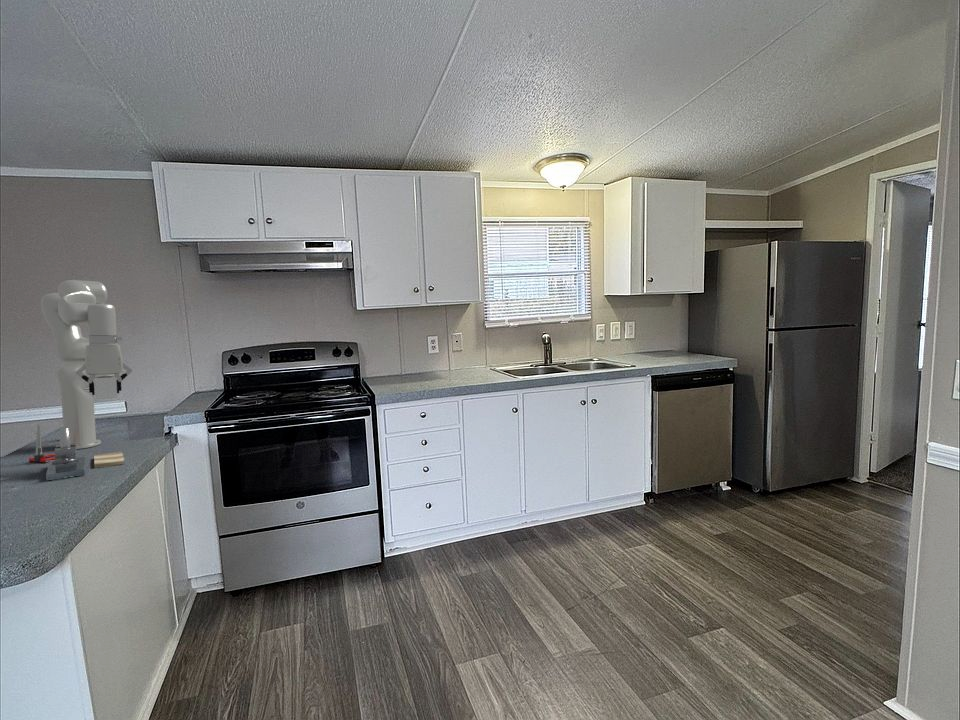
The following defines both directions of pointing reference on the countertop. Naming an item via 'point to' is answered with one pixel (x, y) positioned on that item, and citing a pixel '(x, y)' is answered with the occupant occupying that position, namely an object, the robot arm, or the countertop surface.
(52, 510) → the countertop surface
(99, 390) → the white hollow square block
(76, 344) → the robot arm
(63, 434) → the grey peg stand
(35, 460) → the tow hook
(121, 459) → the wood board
